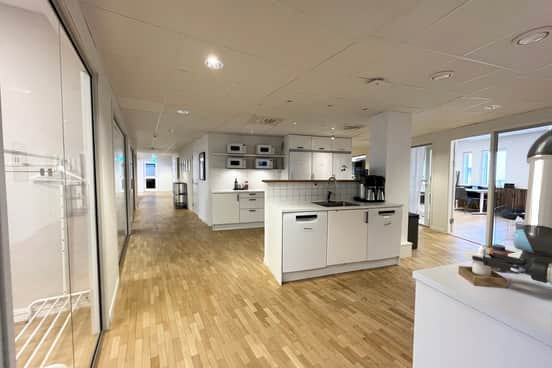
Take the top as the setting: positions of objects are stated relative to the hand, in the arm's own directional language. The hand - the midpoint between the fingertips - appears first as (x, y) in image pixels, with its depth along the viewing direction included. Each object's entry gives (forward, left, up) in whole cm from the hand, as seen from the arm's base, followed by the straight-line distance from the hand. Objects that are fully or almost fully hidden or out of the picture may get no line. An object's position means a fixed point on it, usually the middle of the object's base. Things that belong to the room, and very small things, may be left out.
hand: (466, 253), depth 99 cm
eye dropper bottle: (-4, +4, -7) cm, 9 cm away
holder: (-4, +4, -10) cm, 11 cm away
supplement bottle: (-18, -9, -10) cm, 23 cm away
